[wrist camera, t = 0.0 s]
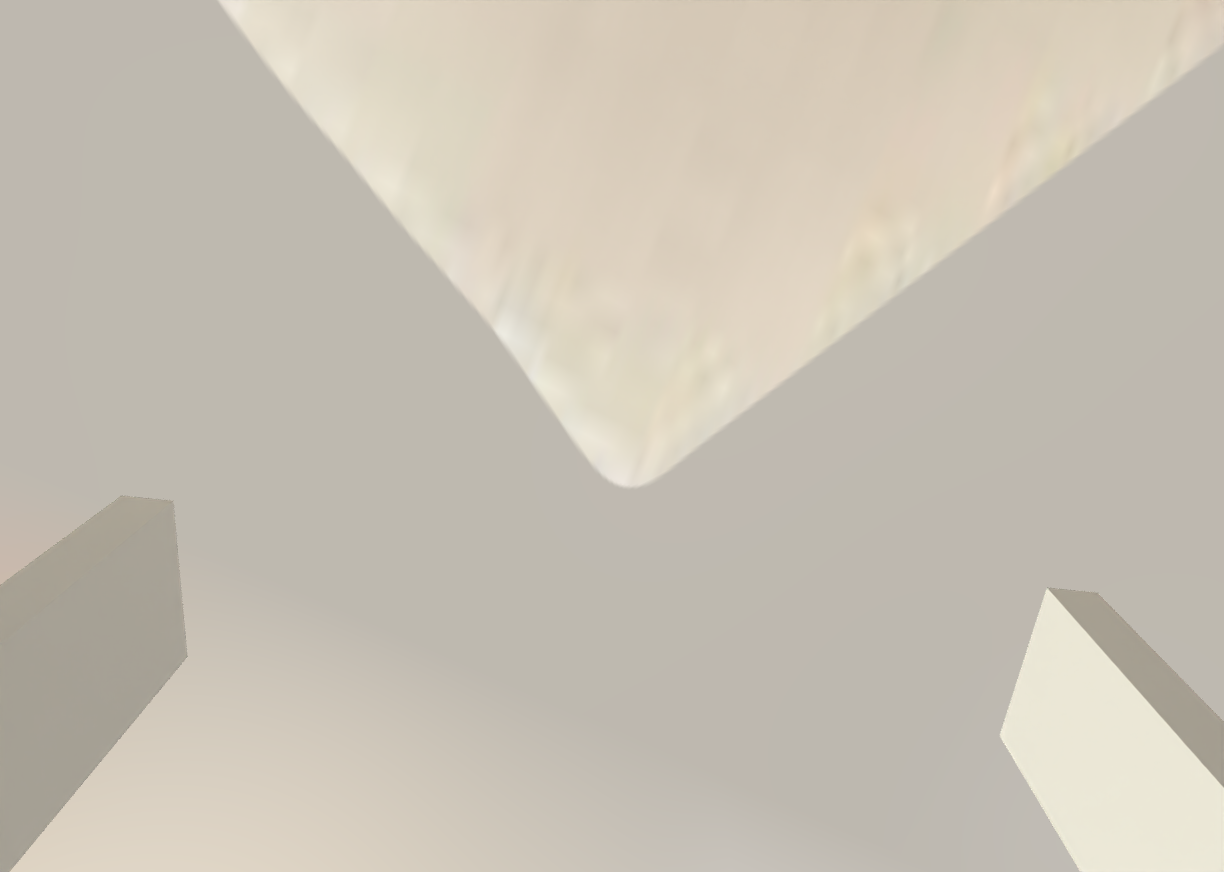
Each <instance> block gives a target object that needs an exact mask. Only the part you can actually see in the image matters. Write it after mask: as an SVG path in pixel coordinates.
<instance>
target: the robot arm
mask: <svg viewBox="0 0 1224 872" xmlns="http://www.w3.org/2000/svg"><path fill="white" fill-rule="evenodd" d="M186 647H187V646H186V636H185V625H184V614H183V603H182V592H181V581H180V570H179V559H178V548H177V537H176V526H175V515H174V504H173V501H170V500H160V499H150V498H140V497H130V496H120V497H119V498H118V499H116V500H115V501H114V502H112V503H111V504H110V505H108V506H107V507H106V508H104V509H103V510H101V511H100V512H99V513H97V514H96V515H95V516H93V517H92V518H91V519H89V520H88V521H86V522H85V523H84V524H82V525H81V526H80V527H78V528H77V529H76V530H74V531H73V532H72V533H70V534H69V535H68V536H67V537H65V538H63V539H62V540H61V541H59V542H58V543H57V544H55V545H54V546H53V547H51V548H50V549H48V550H47V551H46V552H44V553H43V554H42V555H40V556H39V557H38V558H36V559H35V560H34V561H32V562H31V563H29V564H28V565H27V566H25V568H23V569H21V570H20V571H19V572H17V573H16V574H14V575H13V576H12V577H10V578H9V579H8V580H6V581H5V582H4V583H2V584H1V585H0V872H9V871H11V869H12V868H13V867H14V866H15V865H16V863H17V862H18V861H19V860H20V858H21V857H22V856H23V855H24V854H25V852H26V851H27V850H28V849H29V848H30V846H31V845H32V844H33V843H34V842H35V840H36V839H37V838H38V837H39V836H40V834H41V833H42V832H43V831H44V829H45V828H46V827H47V825H49V823H50V822H51V821H52V820H53V819H54V817H55V816H56V815H57V814H58V813H59V811H60V810H61V809H62V808H63V806H64V805H65V804H66V803H67V802H68V801H69V799H70V798H71V797H72V796H73V794H74V793H75V792H76V791H77V790H78V788H79V787H80V786H81V785H82V784H83V782H84V781H85V780H86V779H87V778H88V776H89V775H90V774H91V773H92V771H93V770H94V769H95V768H96V767H97V766H98V764H99V763H100V762H101V761H102V759H103V758H104V757H105V756H106V755H107V753H108V752H109V751H110V750H111V749H112V747H113V746H114V745H115V744H116V743H117V741H118V740H119V739H120V738H121V737H122V735H123V734H124V733H125V732H126V730H127V729H128V728H129V727H130V725H131V724H132V723H133V722H134V721H135V720H136V718H137V717H138V716H139V714H141V712H142V711H143V710H144V709H145V708H146V706H147V705H148V704H149V703H150V701H151V700H152V699H153V697H155V695H156V694H157V693H158V692H159V690H160V689H161V688H162V687H163V686H164V685H165V683H166V682H167V681H168V680H169V679H170V677H171V676H172V675H173V674H174V673H175V671H176V670H177V669H178V668H179V666H180V665H181V664H182V662H184V660H185V659H186V658H187V648H186ZM1000 737H1001V739H1002V741H1003V742H1004V744H1005V746H1006V747H1007V749H1008V751H1009V752H1010V754H1011V755H1012V757H1013V759H1014V761H1015V762H1016V764H1017V766H1018V767H1019V769H1020V771H1021V772H1022V774H1023V776H1024V778H1025V779H1026V781H1027V782H1028V784H1029V786H1030V788H1031V789H1032V791H1033V793H1034V794H1035V796H1036V798H1037V799H1038V801H1039V803H1040V804H1041V806H1042V808H1043V810H1044V811H1045V813H1046V815H1047V816H1048V818H1049V820H1050V821H1051V823H1052V825H1053V826H1054V828H1055V830H1056V831H1057V833H1058V835H1059V836H1060V838H1061V840H1062V841H1063V843H1064V845H1065V846H1066V848H1067V850H1068V852H1069V853H1070V855H1071V857H1072V858H1073V860H1074V862H1075V863H1076V865H1077V867H1078V868H1079V870H1080V872H1224V721H1222V719H1221V718H1220V717H1219V716H1217V714H1216V713H1214V711H1213V710H1212V709H1211V708H1210V707H1209V706H1208V705H1207V704H1206V703H1205V702H1204V701H1203V700H1202V699H1201V698H1200V697H1199V696H1198V695H1197V694H1196V693H1195V692H1194V691H1193V690H1192V689H1191V688H1190V687H1189V686H1188V685H1187V684H1186V683H1185V682H1184V681H1183V680H1182V679H1181V678H1180V677H1179V676H1178V675H1177V674H1176V672H1175V671H1174V670H1173V669H1172V668H1171V667H1170V666H1169V665H1167V663H1166V662H1165V661H1164V660H1163V659H1162V658H1161V657H1160V656H1159V655H1158V654H1157V653H1156V652H1155V651H1154V650H1153V649H1152V648H1151V647H1150V646H1149V645H1148V644H1147V643H1146V642H1145V641H1144V640H1143V639H1142V638H1141V637H1140V636H1139V635H1138V634H1137V633H1136V632H1135V631H1134V630H1133V629H1132V628H1131V627H1130V626H1129V625H1128V624H1127V623H1126V622H1125V620H1124V619H1123V618H1122V617H1121V616H1120V615H1119V614H1118V613H1117V612H1115V610H1114V609H1113V608H1112V607H1111V606H1110V605H1109V604H1108V603H1107V602H1106V601H1105V600H1104V599H1103V598H1102V597H1101V596H1100V595H1099V594H1098V593H1094V592H1085V591H1075V590H1064V589H1055V588H1047V589H1046V593H1045V596H1044V599H1043V602H1042V605H1041V608H1040V612H1039V614H1038V618H1037V621H1036V624H1035V627H1034V630H1033V633H1032V636H1031V639H1030V642H1029V646H1028V649H1027V652H1026V655H1025V658H1024V661H1023V664H1022V667H1021V671H1020V674H1019V677H1018V680H1017V683H1016V686H1015V689H1014V692H1013V696H1012V699H1011V702H1010V705H1009V708H1008V712H1007V714H1006V717H1005V720H1004V724H1003V727H1002V730H1001V733H1000Z"/></svg>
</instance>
